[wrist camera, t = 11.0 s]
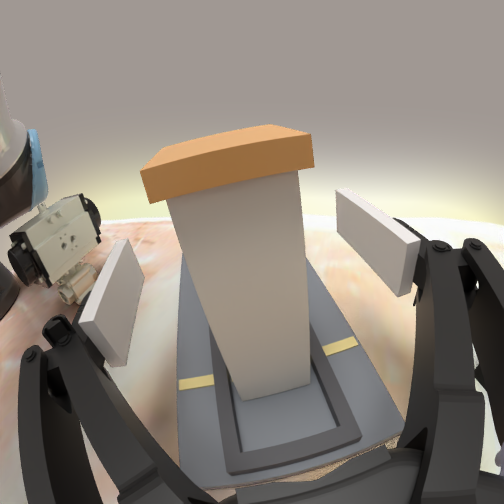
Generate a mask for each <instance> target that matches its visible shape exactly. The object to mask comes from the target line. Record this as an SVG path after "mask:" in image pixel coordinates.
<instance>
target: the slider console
mask: <svg viewBox="0 0 504 504" xmlns="http://www.w3.org/2000/svg"><path fill="white" fill-rule="evenodd" d="M306 268H307V285H308V304H309V331H310V384H308V385H305V386H301V387H298V388H294V389H291V390H287V391H284V392H280V393H276V394H272V395H268V396H264V397H260V398H255V399H251V400H246V401H242V400H241V397H240V395H239V393H238V391H237V389H236V387H235V384H234V382H233V380H232V378H231V375H230V373H229V371H228V368H227V366H226V364H225V362H224V359H223V357H222V354H221V352H220V350H219V347H218V345H217V342H216V340H215V338H214V335H213V333H212V330H211V328H210V325H209V323H208V320H207V318H206V315H205V312H204V310H203V307H202V305H201V302H200V299H199V297H198V294H197V291H196V289H195V286H194V283H193V280H192V278H191V275H190V272H189V269H188V266H187V263H186V261H185V258H184V255H183V253H182V265H181V278H180V292H179V310H178V333H177V423H178V445H179V460H180V469H181V470H182V471H183V472H184V474H185V475H186V476H187V477H188V478H189V479H190V480H191V481H192V482H193V483H194V484H195V485H197V486H198V487H199V488H201V489H202V490H210V489H221V488H230V487H238V486H245V485H251V484H257V483H262V482H267V481H272V480H277V479H281V478H285V477H290V476H293V475H297V474H301V473H305V472H308V471H312V470H315V469H318V468H321V467H324V466H327V465H330V464H333V463H336V462H339V461H342V460H344V459H347V458H349V457H352V456H355V455H357V454H359V453H362V452H364V451H367V450H369V449H371V448H373V447H376V446H378V445H380V444H382V443H384V442H386V441H388V440H390V439H392V438H394V437H396V436H398V435H400V434H401V433H402V431H403V429H404V426H405V422H404V420H403V418H402V416H401V414H400V412H399V411H398V409H397V407H396V405H395V403H394V401H393V400H392V398H391V396H390V394H389V392H388V391H387V389H386V387H385V385H384V383H383V382H382V380H381V378H380V376H379V375H378V373H377V371H376V369H375V368H374V366H373V364H372V363H371V361H370V359H369V357H368V356H367V354H366V352H365V351H364V349H363V347H362V346H361V344H360V342H359V341H358V339H357V337H356V336H355V334H354V332H353V331H352V329H351V327H350V326H349V324H348V322H347V321H346V319H345V317H344V316H343V314H342V313H341V311H340V309H339V308H338V306H337V305H336V303H335V301H334V300H333V298H332V297H331V295H330V293H329V292H328V290H327V289H326V287H325V286H324V284H323V283H322V281H321V279H320V278H319V276H318V275H317V273H316V272H315V270H314V269H313V267H312V266H311V264H310V262H309V261H308V259H307V258H306Z"/></svg>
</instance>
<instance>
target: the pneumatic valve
mask: <svg viewBox="0 0 504 504" xmlns="http://www.w3.org/2000/svg"><path fill="white" fill-rule="evenodd" d="M38 210H39V212H40V213H39V214H38V215H37V216H35V217H34V218H32V219H31V220H30V221H28V222H27V223H25V224H24V225H23V226H21V227H20V228H18V229H17V230H16V231H14V232H13V233H12V234H11V235H9V236H10V239H11V241H12V244H11V246H12V248H11V249H10V250H9V251H8V258H9V261H10V263H11V265H12V267H13V269H14V271H15V273H16V274H17V276H18V277H19V278H20V280H21V281H22V282H23V283H24V284H25V285H26V286H28V287H30V286H31V285H32V284H33V283H35V284H37V285H40V286H43V287H46V288H50V287H51V286H52V285H53V284H54V283H55V282H57V284H58V285H60V286H59V287H58V294H59V296H60V297H61V299H62V300H63V301H64V302H65V303H67V304H72V303H73V302H74V301H75V302H76V303H77V304H78V305H80V304H81V302H82V300H83V298H84V297H85V295H86V294H87V293H88V292H89V291H91V290H92V289H93V287H94V285H95V283H96V281H95V280H96V279H97V272H96V270H95V269H94V267H93V266H92V265H90V264H89V263H85V264H83V265H80V264H79V263H81V262H82V261H83V260H82V258H83V257H84V256H85V255H86V254H87V253H89V252H90V251H91V250H92V249H93V248H94V247H96V246H97V245H98V244H99V243H100V242H101V239H100V237H99V235H100V234H101V232H100V230H99V227H100V224H101V218H100V214H99V211H98V209H97V207H96V206H95V204H94V203H93V202H92V201H91V200H90V199H88V198H84V196H83V194H82V193H81V194H77V195H73V196H69V197H65V198H63V199H61V200H60V201H58V202H56V203H55V204H53V205H52V206H50V207H49V208H46V205H45V203H42V204H41V205H38Z"/></svg>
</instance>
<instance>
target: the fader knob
mask: <svg viewBox="0 0 504 504" xmlns="http://www.w3.org/2000/svg"><path fill="white" fill-rule="evenodd" d="M313 167H314V158H313V149H312V140H311V134H309V133H305V132H301V131H297V130H293V129H289V128H285V127H281V126H276V125H272V124H268V125H262V126H255V127H250V128H245V129H239V130H234V131H229V132H224V133H219V134H215V135H210V136H206V137H201V138H197V139H193V140H189V141H185V142H182V143H178V144H174V145H170V146H167V147H164V148H162V149H161V150H160V151H159V152H158V153H157V154H156V155H155V156H154V157H153V158H152V159H151V160H150V161H149V162H148V163H147V164H146V165H145V166H144V167H143V168H142V169H141V171H140V174H141V177H142V180H143V183H144V187H145V190H146V193H147V197H148V200H149V203H150V204H152V203H156V202H159V201H162V200H166V202H167V205H168V208H169V211H170V215H171V218H172V221H173V224H174V228H175V231H176V234H177V237H178V240H179V243H180V246H181V249H182V252H183V255H184V258H185V261H186V263H187V266H188V269H189V272H190V275H191V278H192V280H193V283H194V286H195V289H196V291H197V294H198V297H199V299H200V302H201V305H202V307H203V310H204V312H205V315H206V318H207V320H208V323H209V325H210V328H211V330H212V333H213V335H214V338H215V340H216V342H217V345H218V347H219V350H220V352H221V354H222V357H223V359H224V362H225V364H226V366H227V368H228V371H229V373H230V375H231V378H232V380H233V382H234V384H235V387H236V389H237V391H238V393H239V395H240V397H241V400H242V401H246V400H251V399H255V398H260V397H264V396H268V395H272V394H276V393H280V392H284V391H287V390H291V389H294V388H298V387H301V386H305V385H308V384H310V331H309V304H308V285H307V268H306V253H305V240H304V228H303V217H302V206H301V196H300V187H299V178H298V170H301V169H307V168H313Z"/></svg>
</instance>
